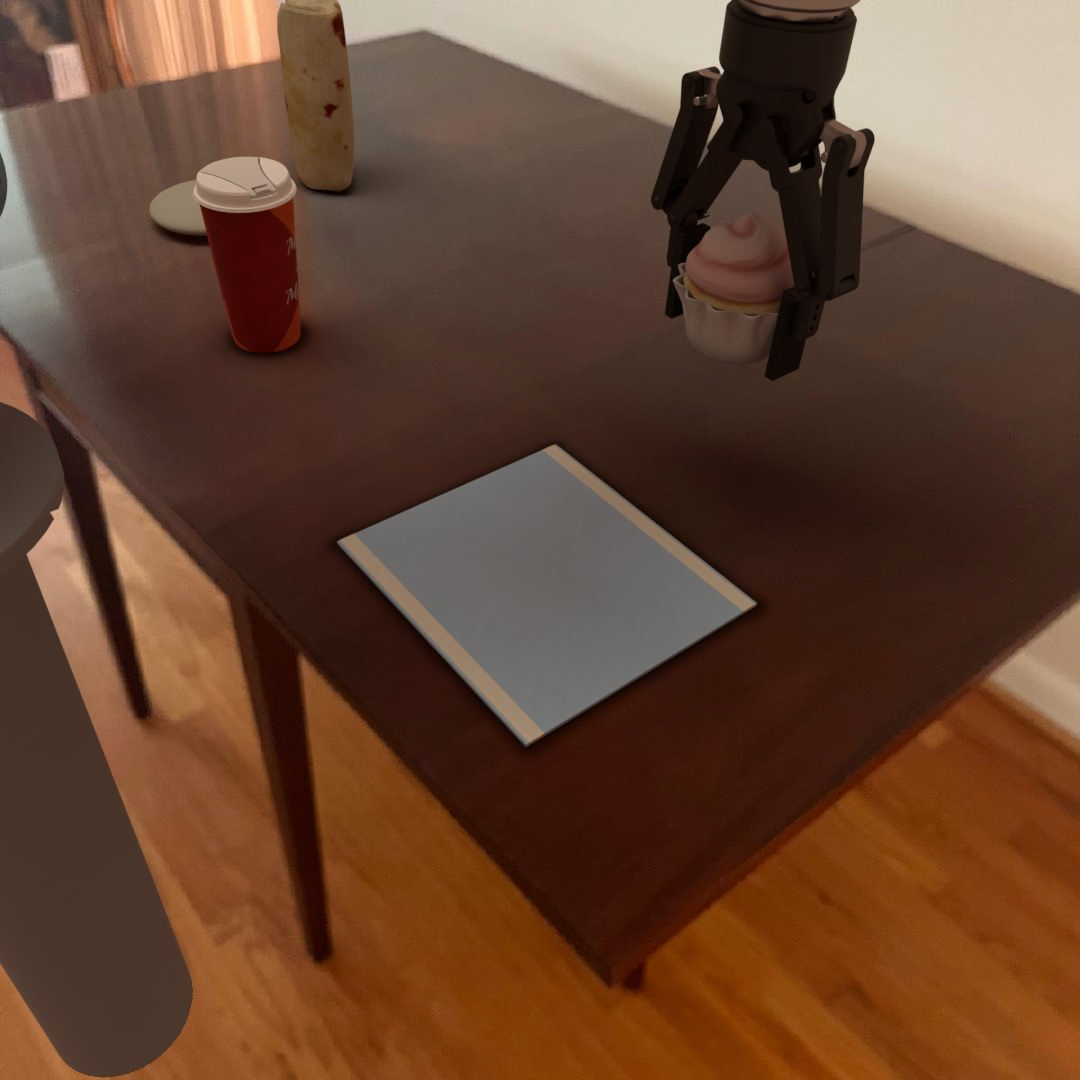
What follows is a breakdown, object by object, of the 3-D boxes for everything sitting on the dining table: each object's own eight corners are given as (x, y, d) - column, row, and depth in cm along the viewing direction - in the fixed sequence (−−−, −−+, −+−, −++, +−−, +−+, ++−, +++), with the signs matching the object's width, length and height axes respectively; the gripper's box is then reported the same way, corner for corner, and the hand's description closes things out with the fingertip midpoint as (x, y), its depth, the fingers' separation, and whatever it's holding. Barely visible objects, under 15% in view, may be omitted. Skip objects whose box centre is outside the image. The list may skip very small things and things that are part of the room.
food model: (372, 191, 118) (359, -2, 105) (316, 203, 115) (296, 6, 102) (336, 160, 124) (319, -27, 110) (282, 170, 121) (259, -20, 108)
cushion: (136, 242, 107) (129, 214, 105) (172, 192, 116) (167, 165, 114) (253, 249, 107) (249, 221, 105) (281, 199, 116) (277, 172, 114)
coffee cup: (330, 341, 94) (313, 179, 84) (246, 370, 90) (218, 204, 80) (284, 302, 99) (263, 145, 89) (203, 328, 95) (171, 166, 85)
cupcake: (638, 328, 76) (654, 196, 70) (739, 299, 80) (763, 172, 74) (717, 393, 71) (743, 256, 64) (821, 359, 74) (856, 226, 68)
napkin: (337, 544, 75) (336, 540, 74) (555, 446, 84) (555, 443, 84) (526, 747, 62) (526, 744, 62) (756, 606, 72) (757, 602, 72)
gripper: (996, 44, 56) (885, 395, 71) (704, -50, 68) (662, 266, 83) (909, 68, 52) (812, 433, 67) (618, -35, 65) (591, 292, 80)
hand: (729, 340), depth 75 cm, fingers closed on cupcake, 9 cm apart
